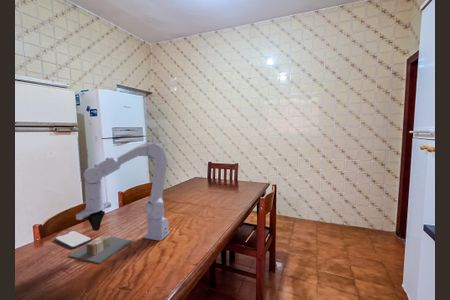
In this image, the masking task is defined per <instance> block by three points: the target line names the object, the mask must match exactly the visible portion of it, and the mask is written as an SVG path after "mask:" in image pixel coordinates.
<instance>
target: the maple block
mask: <svg viewBox="0 0 450 300" xmlns="http://www.w3.org/2000/svg"><path fill="white" fill-rule="evenodd" d="M110 237H111V235H106V234H105V235H104V234H102V235H100V236H99V237H96V238H95V239H92V241H91V242H89V243H87V244H85V246H86V249H87V254H90V255H96V254H98V253H99V252H101V251H102V250H104V249H106V248H107V247H109V246H110V245H111V239H110Z"/></svg>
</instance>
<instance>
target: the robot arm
mask: <svg viewBox="0 0 450 300" xmlns="http://www.w3.org/2000/svg"><path fill="white" fill-rule="evenodd" d="M137 157H149V158H150V159H151V160H152V162H154V169H153V177H152V178H153V179H152V185H151V191H150V197H148V199H147V200H148V201H147V203H146V204H145V207H144V210H145V212H146V213H147V216H146V232H147V233H146V234H144V236H143V239H148V240H154V241H162V240H163V239H164V238H167V236H168V235H170V232H171V231H170V230H169V229H170V223H169V219H168V218H166V217H164V215H165V208H164V200H163V193H164V186H165V179H166V172H167V166H168V159H167V157H166V154H165V151H164V148H163V147H162V146H161V145H160V144H159V143H157V142H151V141H147V142H145V143H142V144H140V145H137V146H136V147H134V148H133V149H130V150H129V151H127V152H125V153H123V154H121V155H120V156H118V157H106V158H105V160H104V161H101V162H99V163H98V164H96V163H95V164H93V167H92V166H91V167H88V168H86V169H85V171H84V172H83V178H84V180H85V181H84V193H85V195H84V196H85V208H84V210H81V211H80V212H79V213H76V214H75V220H79V221H81V220H83V219H84V218H86V220H87V221H88V222H89V224H90V226H91V229H92V231H95V232H97V231H99V230H100V229H101V228H100V227H101V225H102V221H103V218H104V216H105V215H106V211H104V210H105V209H107V208H112V202H110V201H108V202H106V201H105V202H103V187H102V181H101V180H102V179H103V178H106V177H107V176H109V175H110V174H112V173H114V172H116V171H117V170H120V168H121V165H122V164H125V163H127V162H130V161H131V160H133V159H135V158H137Z"/></svg>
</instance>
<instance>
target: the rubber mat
mask: <svg viewBox="0 0 450 300" xmlns="http://www.w3.org/2000/svg"><path fill="white" fill-rule="evenodd" d="M110 239H111V245H110V246H109V247H107V248H106V249H104V250H102V251H101V252H99V253H98V254H96V255H90V254H87V249H86V245H83V247H82V246H81V248H79V249H77V250H75V251H74V252H72V253H70V254H68V258H69V257H70V258H72V259H78V260H82V261H85V262H90V263H93V264H99V265H100V264H103V263H104V262H105V261H106V260H108V259H109V258H111V257H113V256H114V255H115V254H116V253H117V254H118V252H120V251H121V250H122V249H123V248H125V247H126V246H128V245H130V244H131V243H132V242H133V240H131V239H127V238H126V239H125V238H121V237H114V236H110Z"/></svg>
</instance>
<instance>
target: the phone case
mask: <svg viewBox="0 0 450 300" xmlns="http://www.w3.org/2000/svg"><path fill="white" fill-rule="evenodd" d="M91 241H93V238H92V237H90V236H88V235H85V234H82V233H81V232H78V231H76V230H71V231H68V232H65V233H64V234H61V235H58V236H55V237H54V242H55V243H58V244H60V245H61V246H64V247H66V248H68V249H71V250H75V249H78V248H79V247H82V246H86V244H87V243H89V242H91Z"/></svg>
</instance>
